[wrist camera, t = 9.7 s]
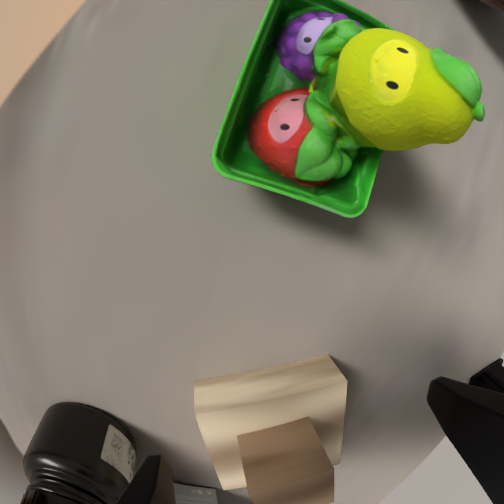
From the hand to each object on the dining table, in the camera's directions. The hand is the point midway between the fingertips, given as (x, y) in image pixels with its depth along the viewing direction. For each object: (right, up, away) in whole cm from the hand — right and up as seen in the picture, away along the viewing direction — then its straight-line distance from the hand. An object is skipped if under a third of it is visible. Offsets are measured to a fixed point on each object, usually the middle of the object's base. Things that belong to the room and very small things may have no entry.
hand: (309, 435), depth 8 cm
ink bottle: (-16, -11, +13) cm, 23 cm away
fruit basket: (+1, +14, +10) cm, 17 cm away
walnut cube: (0, -9, +11) cm, 14 cm away
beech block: (0, -8, +15) cm, 17 cm away
